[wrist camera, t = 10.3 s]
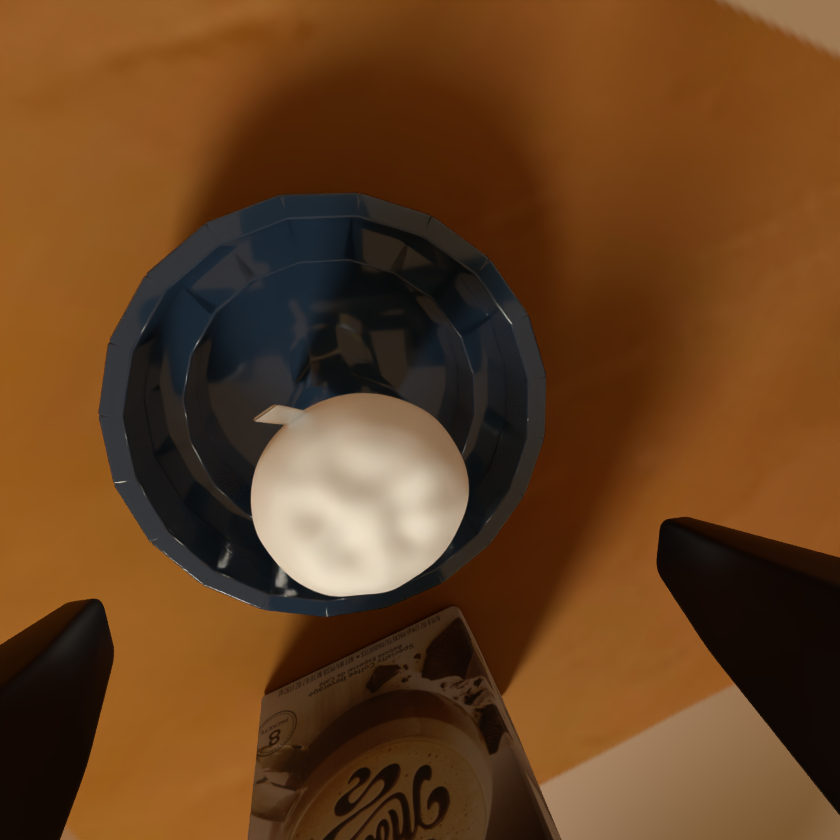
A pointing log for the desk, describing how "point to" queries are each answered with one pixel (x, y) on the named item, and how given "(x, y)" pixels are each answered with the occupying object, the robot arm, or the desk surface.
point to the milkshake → (355, 483)
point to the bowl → (289, 359)
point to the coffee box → (396, 748)
